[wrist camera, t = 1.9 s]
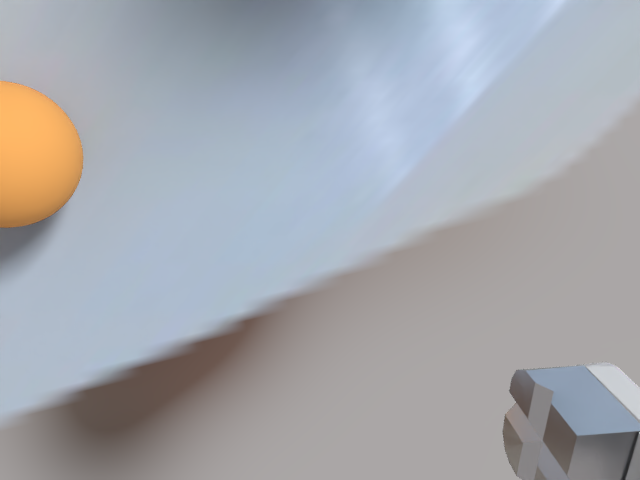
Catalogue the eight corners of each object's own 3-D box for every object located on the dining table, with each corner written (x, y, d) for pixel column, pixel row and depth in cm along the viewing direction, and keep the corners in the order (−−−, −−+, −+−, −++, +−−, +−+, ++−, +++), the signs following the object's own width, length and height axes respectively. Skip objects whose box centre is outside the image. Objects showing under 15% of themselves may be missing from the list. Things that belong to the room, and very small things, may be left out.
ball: (-54, 176, 24) (-129, 222, 19) (-30, 50, 22) (-105, 64, 17) (79, 216, 26) (42, 269, 21) (111, 102, 24) (79, 128, 19)
